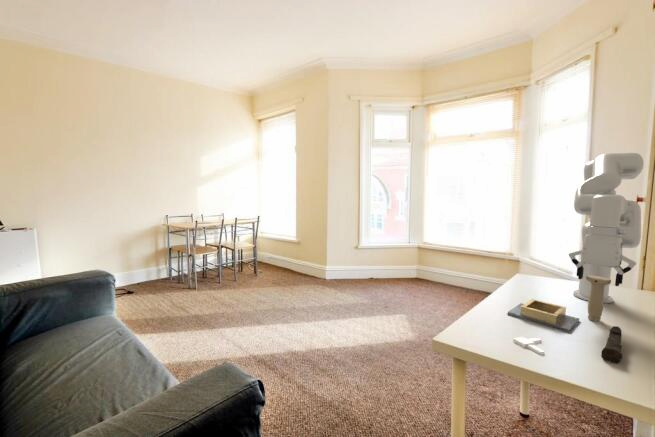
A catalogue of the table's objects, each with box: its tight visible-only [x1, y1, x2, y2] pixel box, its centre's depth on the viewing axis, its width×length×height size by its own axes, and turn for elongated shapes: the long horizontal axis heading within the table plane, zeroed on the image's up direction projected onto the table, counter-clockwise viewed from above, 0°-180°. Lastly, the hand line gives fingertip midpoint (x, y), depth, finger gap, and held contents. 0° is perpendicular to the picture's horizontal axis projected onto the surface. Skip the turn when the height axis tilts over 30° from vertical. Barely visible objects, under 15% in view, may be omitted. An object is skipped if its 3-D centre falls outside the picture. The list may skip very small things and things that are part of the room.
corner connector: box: [512, 336, 545, 355], centre depth 92 cm, size 8×8×2 cm
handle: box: [586, 275, 612, 323], centre depth 109 cm, size 5×6×15 cm
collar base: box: [507, 298, 580, 333], centre depth 111 cm, size 13×18×4 cm
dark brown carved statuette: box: [600, 325, 623, 364], centre depth 90 cm, size 19×4×5 cm, turn 132°
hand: (598, 281), depth 108 cm, fingers open, 9 cm apart
